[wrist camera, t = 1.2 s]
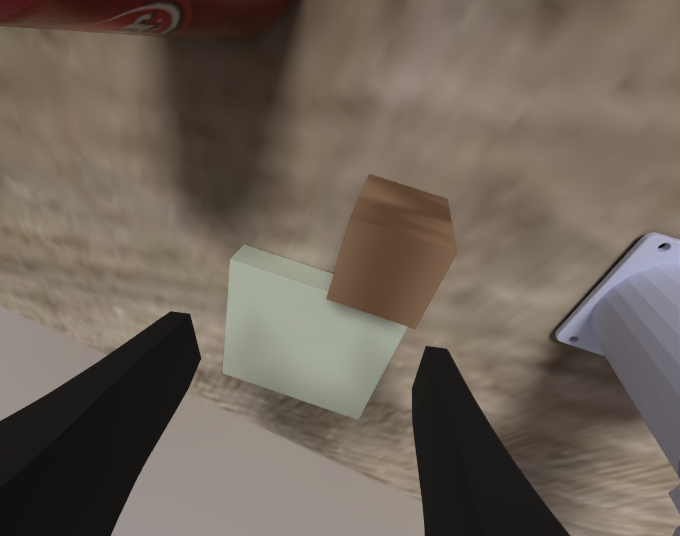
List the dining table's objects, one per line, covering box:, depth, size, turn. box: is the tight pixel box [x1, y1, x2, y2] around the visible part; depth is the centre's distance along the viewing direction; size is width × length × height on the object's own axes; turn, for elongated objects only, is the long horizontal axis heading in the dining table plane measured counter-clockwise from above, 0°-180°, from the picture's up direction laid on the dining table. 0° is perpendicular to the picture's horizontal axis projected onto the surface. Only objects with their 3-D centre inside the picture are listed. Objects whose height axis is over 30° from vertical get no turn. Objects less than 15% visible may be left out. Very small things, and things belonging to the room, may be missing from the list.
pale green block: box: [223, 244, 407, 420], centre depth 25 cm, size 12×12×2 cm
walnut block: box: [326, 174, 457, 329], centre depth 17 cm, size 4×4×6 cm
